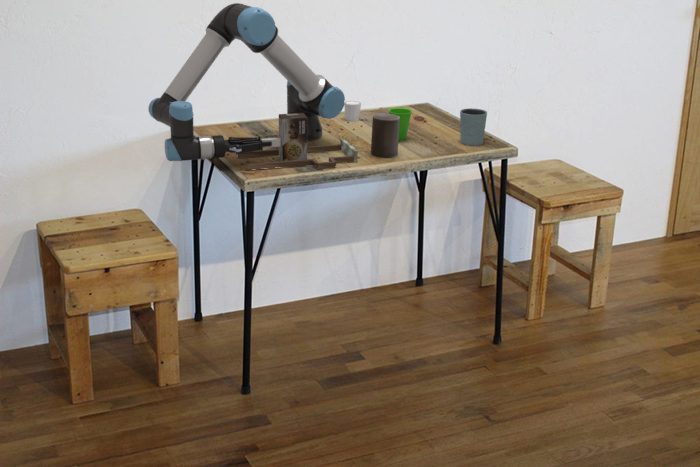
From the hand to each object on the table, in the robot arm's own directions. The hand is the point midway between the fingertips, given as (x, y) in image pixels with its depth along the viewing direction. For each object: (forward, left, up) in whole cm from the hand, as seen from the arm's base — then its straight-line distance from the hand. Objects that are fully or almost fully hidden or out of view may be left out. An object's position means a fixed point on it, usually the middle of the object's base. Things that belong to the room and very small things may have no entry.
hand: (280, 142), depth 313 cm
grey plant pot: (-5, +76, -7) cm, 76 cm away
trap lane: (-1, +6, -7) cm, 9 cm away
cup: (-16, +51, -7) cm, 54 cm away
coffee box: (-1, +5, -7) cm, 9 cm away
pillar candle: (0, +39, -8) cm, 40 cm away
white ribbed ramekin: (-47, +43, -7) cm, 64 cm away
